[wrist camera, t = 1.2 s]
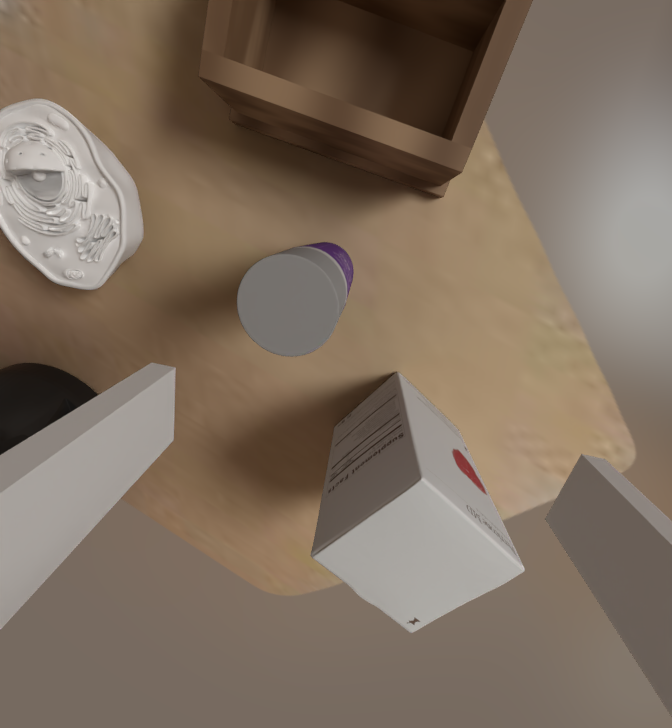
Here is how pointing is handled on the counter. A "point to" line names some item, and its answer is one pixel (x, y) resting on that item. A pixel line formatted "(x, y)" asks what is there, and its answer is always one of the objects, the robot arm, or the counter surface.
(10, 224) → the cell model
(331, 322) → the container
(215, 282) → the counter surface
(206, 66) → the open wooden box
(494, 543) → the supplement box
